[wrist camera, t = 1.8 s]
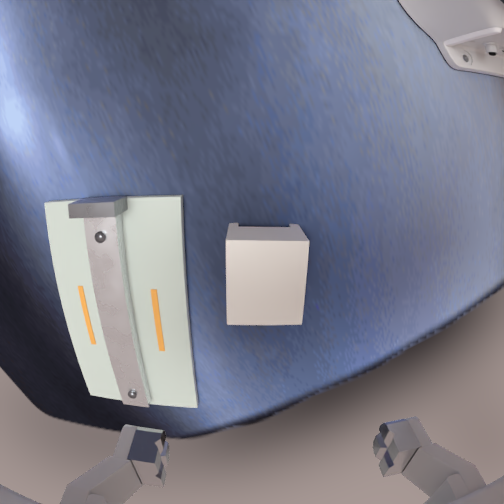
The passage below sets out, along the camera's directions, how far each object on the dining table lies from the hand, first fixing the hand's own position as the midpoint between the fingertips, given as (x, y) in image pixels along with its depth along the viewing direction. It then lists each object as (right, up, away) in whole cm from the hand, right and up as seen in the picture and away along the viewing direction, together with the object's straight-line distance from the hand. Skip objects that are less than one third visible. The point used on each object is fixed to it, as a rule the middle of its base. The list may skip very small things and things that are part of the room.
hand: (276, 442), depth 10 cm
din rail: (-14, +1, +19) cm, 24 cm away
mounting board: (-14, +1, +20) cm, 25 cm away
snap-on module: (0, +6, +19) cm, 20 cm away
